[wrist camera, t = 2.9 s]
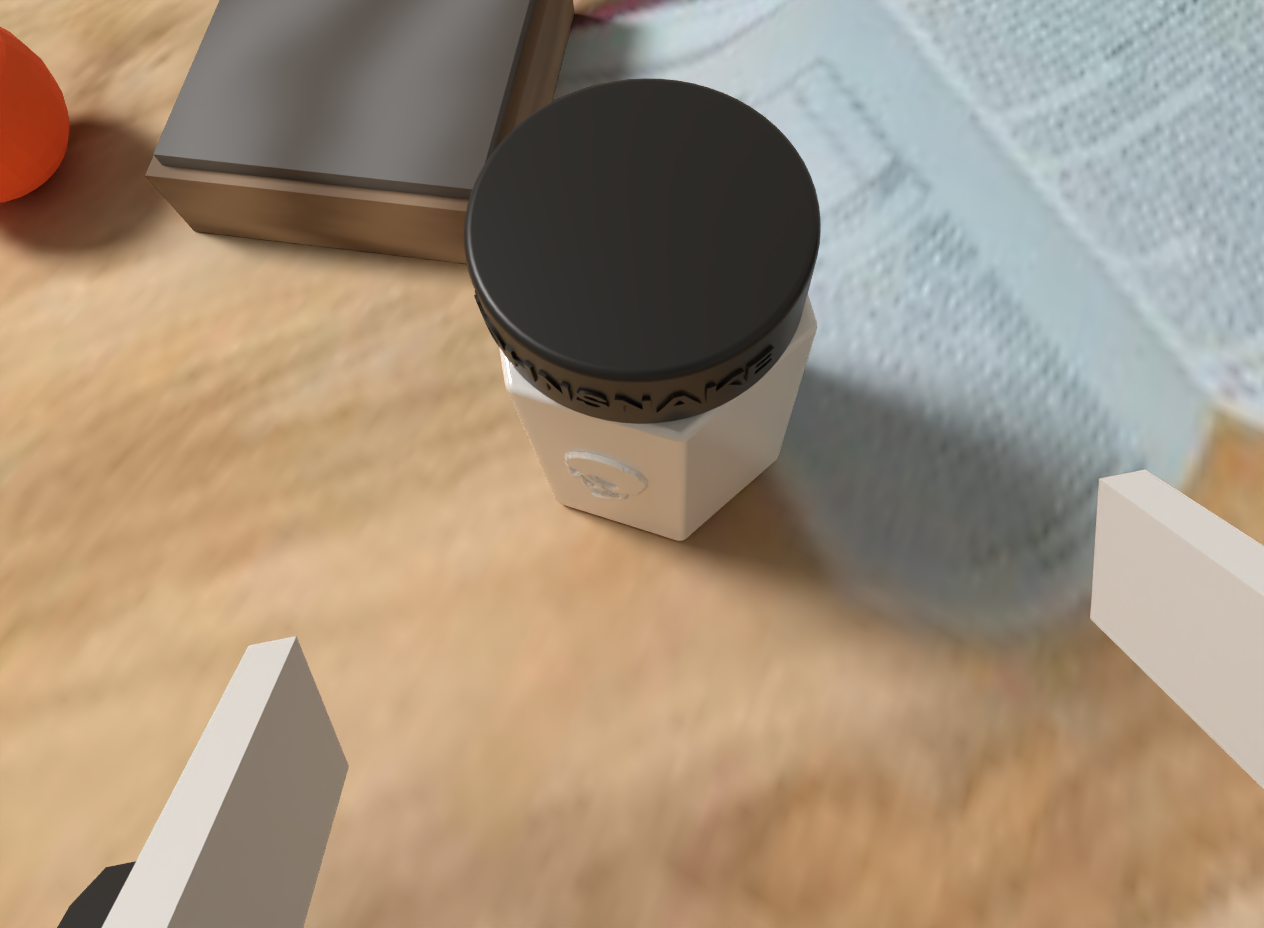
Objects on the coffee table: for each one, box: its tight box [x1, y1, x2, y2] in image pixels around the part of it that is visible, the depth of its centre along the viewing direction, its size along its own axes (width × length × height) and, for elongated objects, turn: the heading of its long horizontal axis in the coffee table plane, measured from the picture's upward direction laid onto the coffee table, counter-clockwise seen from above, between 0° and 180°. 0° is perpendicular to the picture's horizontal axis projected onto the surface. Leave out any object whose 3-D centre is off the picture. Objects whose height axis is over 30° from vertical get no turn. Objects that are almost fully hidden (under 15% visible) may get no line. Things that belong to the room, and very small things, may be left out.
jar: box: [464, 79, 820, 541], centre depth 25 cm, size 9×8×12 cm
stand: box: [145, 0, 574, 264], centre depth 34 cm, size 13×13×4 cm
